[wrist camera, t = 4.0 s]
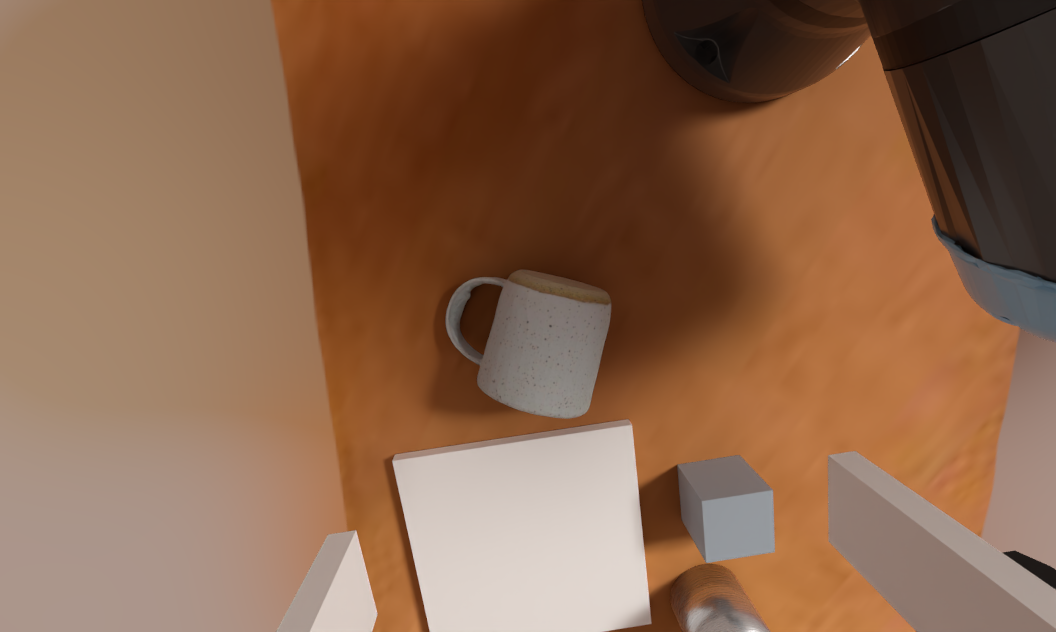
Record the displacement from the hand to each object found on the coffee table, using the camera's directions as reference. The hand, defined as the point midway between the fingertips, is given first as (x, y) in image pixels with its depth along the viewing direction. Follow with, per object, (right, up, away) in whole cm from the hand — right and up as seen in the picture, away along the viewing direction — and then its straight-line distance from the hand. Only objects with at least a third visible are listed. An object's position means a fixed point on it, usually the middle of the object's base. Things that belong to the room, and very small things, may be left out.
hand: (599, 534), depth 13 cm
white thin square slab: (-2, -12, +26) cm, 28 cm away
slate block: (+13, -8, +26) cm, 30 cm away
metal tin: (+13, -18, +28) cm, 35 cm away
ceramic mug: (-2, +5, +22) cm, 23 cm away
